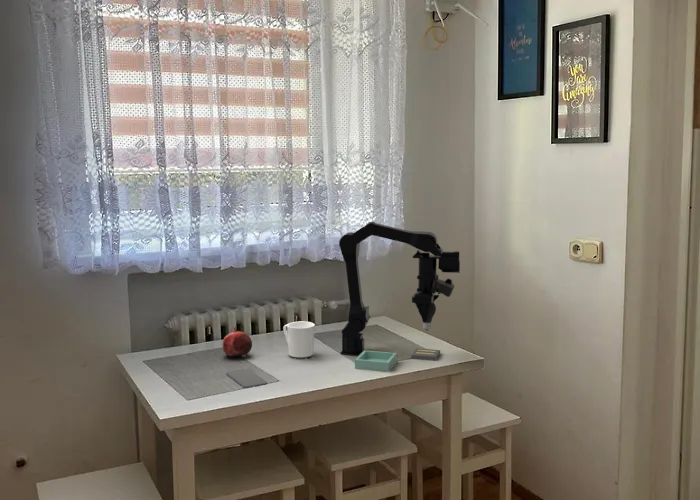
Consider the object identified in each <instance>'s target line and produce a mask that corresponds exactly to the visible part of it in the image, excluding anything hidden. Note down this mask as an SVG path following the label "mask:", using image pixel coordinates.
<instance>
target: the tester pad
mask: <svg viewBox="0 0 700 500" xmlns="http://www.w3.org/2000/svg"><path fill="white" fill-rule="evenodd" d="M440 355H441V349H430V348H420V347H417V348H415V349H414V351H413V352H412V354H410V359H412V360H413V359H414V360H426V361H437V359H438V358H439V356H440Z"/></svg>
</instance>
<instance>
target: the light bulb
mask: <svg viewBox="0 0 700 500" xmlns="http://www.w3.org/2000/svg"><path fill="white" fill-rule="evenodd" d="M436 310H437V306H436V304H435V302H434V303H433V304H432V305H431V306H430V308H429V313H428V318H427V322H424V321H423V319H422V318H421V319H422V320H421V321H422V327H423V328H422V329H424V330H425V331H429V330H430V329H431V328H432V327H431V326H432V320H433V318H434V316H435V314H436Z"/></svg>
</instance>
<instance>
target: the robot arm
mask: <svg viewBox="0 0 700 500" xmlns="http://www.w3.org/2000/svg"><path fill="white" fill-rule="evenodd" d="M371 236H373V237H374V236H375V237H378V238H383V239H386V240H392V241H396V242H399V243H404V244H407V245H409V246H411V247H413V248H415V249H417V250H416V252H415V253H414V254H412V258H413V259H418V275H416V279H417V283H418V284H417V285H418V287H417V288H416V292H415V293H414V294H413V295H412V297H411V303H412V304H415V306H416V308H417V310H418V313H419V315H420V318H421V319H423V321H424V322H427V318H428V313H429V308H430V306H431V305H432V304H433V303H434V304H435V301H436V300H437V299H439V297H440V295H444V296H445V297H448V298H449V297H451V295H452V294H453V291H454V289H455V284H454V283H453V280H452V279H451V278H446V279H445V280H444V279H439V275H438V274H437V268H438V270H440V271H441V272H442V273H452V274H453V273H455V274H460V273H461V272H460V271H461V270H460V269H461V260H460V251H459V250H454V251H443V249H442V248H443V247H441V246H440V244H439V243H438V237H437V236H436V234H435V233H434V232H430V231H415V230H414V231H411V230H406V229H401V228H398V227H393V226H389V225H385V224H381V223H377V222H375V221H370V222H368V223H366V225H364V226H362V227H361V228H360V229H358V230H356V231H353V232H351V231H350V232H347V233H345V234H343V236H341V237H340V238H339V241H338V243H339V244H338V246H339V249H340V252H341V255H342V258H343V260H344V263H345V269H346V279H347V286H348V287H347V288H348V296H349V312H348V322H347V323H346V324H345V326H344V327H343V328H342V330H341V342H342V343H341V349H342V350H341V351H340V355H351V356H359V355H360V354H361V353H362V352H363V351H364V350H365V338H364V336H363V335H364V334H363V333H361V332H362V331H364V330H365V328H366V327H367V325H368V324H369V320H370V319H371V316H370V306H369V305H367V306H365V303H364V301H363V296H362V285H361V275H360V267H359V253H360V245H361V243H362V242H363V241H364V240H366V239H368V238H369V237H371ZM437 259H438V262H437ZM437 263H438V267H437ZM436 293H437V294H436ZM423 321H422V322H423Z"/></svg>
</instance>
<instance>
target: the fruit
mask: <svg viewBox="0 0 700 500" xmlns="http://www.w3.org/2000/svg"><path fill="white" fill-rule="evenodd" d="M230 331H231V332H230V333H228V334H227V335H225V336H224V337H223V341H222V350H223V352H224V354H226V355H227V356H229V357H245V358H247V355H248V354H249V353H250V352H251V350H252V347H253V341H252V339H251V337H250V336H249V334H247V333H245V332H244V331H239V330H238V329H237V325H234V327H233V329H230Z"/></svg>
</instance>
